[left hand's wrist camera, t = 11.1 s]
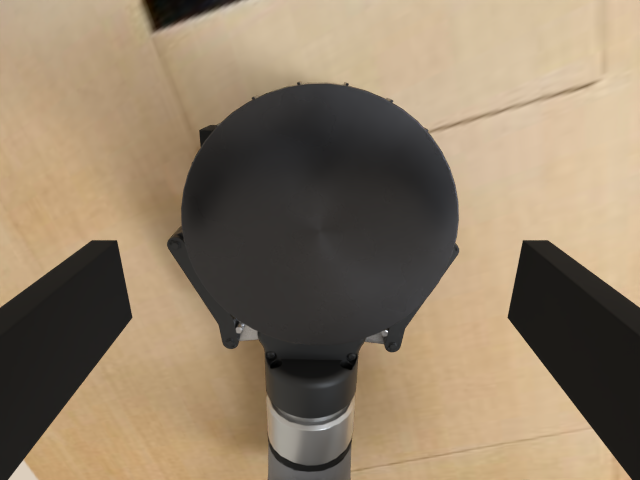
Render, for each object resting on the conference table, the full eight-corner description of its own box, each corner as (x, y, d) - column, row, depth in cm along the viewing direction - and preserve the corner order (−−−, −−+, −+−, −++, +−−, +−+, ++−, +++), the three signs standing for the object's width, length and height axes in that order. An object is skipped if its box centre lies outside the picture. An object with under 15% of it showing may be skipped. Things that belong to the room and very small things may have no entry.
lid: (137, 187, 18) (120, 197, 16) (357, 18, 15) (361, 12, 14) (292, 362, 21) (290, 384, 20) (492, 247, 19) (506, 262, 17)
